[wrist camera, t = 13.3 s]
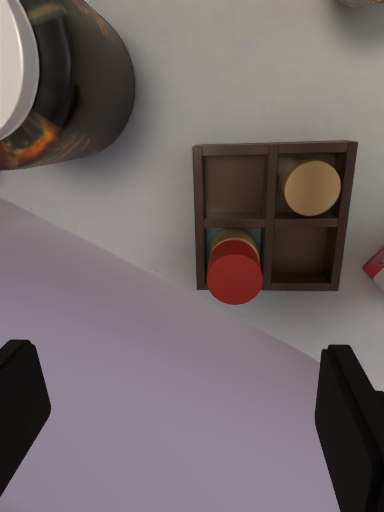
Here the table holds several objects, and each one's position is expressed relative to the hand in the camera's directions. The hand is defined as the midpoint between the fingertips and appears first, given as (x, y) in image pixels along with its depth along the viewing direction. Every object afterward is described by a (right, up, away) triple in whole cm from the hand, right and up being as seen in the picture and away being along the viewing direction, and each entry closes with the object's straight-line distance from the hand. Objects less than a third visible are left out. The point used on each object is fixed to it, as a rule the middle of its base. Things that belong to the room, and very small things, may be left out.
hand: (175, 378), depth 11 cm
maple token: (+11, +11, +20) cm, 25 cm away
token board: (+8, +8, +22) cm, 24 cm away
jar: (-10, +19, +19) cm, 29 cm away
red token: (+4, +3, +19) cm, 20 cm away
